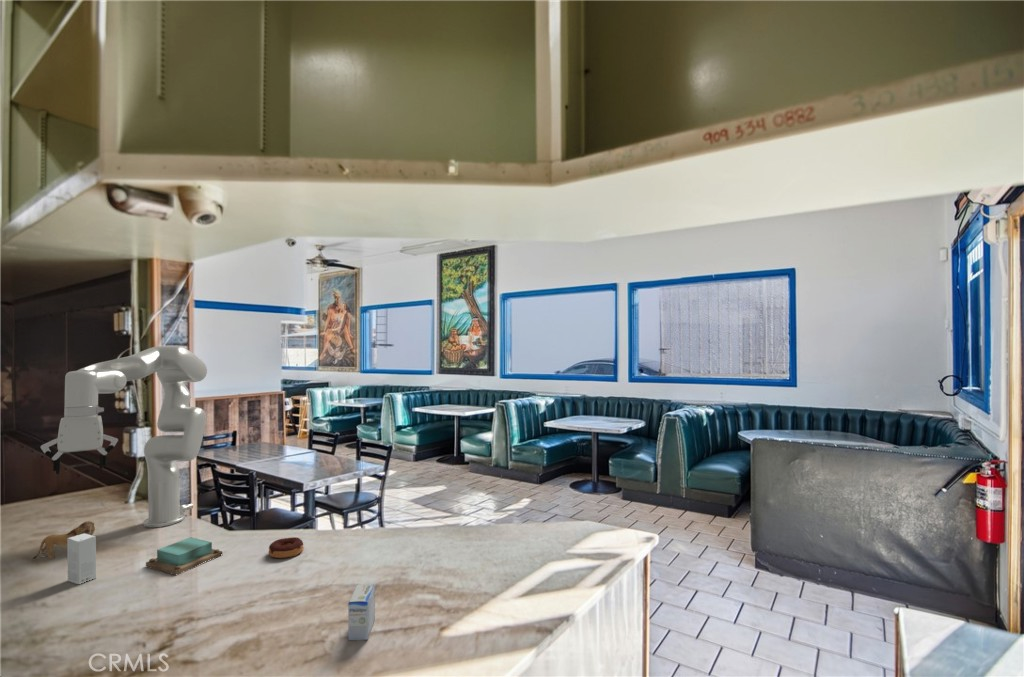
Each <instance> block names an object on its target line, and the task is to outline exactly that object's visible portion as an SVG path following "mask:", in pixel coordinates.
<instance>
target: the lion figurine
mask: <svg viewBox="0 0 1024 677" xmlns="http://www.w3.org/2000/svg"><path fill="white" fill-rule="evenodd" d="M95 528H96V527H95V522H94V521H89V520H87V521H84V522H82V523H81V524H79V526H76V527H75V528H73V529H72V530H71V531H69V532H68V533H66V534H50V535H47V536H46V537H44V539H42V540H41V542H40V546H39V548H38V552H37V553H36V555H35V556H34V557H33V558H32V560H36V559H37V558H38V557H39V556H40V557H42V558H45V557H47V556H48V558H49V559H50V560H51V559H52V560H53V559H55V558H56V556H55V555H52V551H53V549H54V546H55V545H56V546H59V547H67V539H68V538H70V537H74V536H77V535H80V534H84V533H85V534H89V535H92V536H93V534H94V533H95V530H96V529H95ZM44 545H45V546H44ZM43 546H44V547H43ZM45 552H46V553H45Z"/></svg>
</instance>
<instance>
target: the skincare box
mask: <svg viewBox="0 0 1024 677" xmlns="http://www.w3.org/2000/svg"><path fill="white" fill-rule="evenodd" d="M96 537H97V536H96V535H93V534H92V535H89V534H85V533H84V534H80V535H77V536H74V537H70V538H68V539H67V546H66V547H67V552H66V553H67V581H68V582H70V581H71V583H73V582H74V583H73V584H76V585H78V584H80V585H82V584H81V583H83V584H85V583H87V582H86V581H88V582H90V581H92V579H93V580H96V579H97V541H96ZM95 578H96V579H95ZM89 580H90V581H89ZM84 582H85V583H84Z"/></svg>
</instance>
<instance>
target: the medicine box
mask: <svg viewBox="0 0 1024 677" xmlns="http://www.w3.org/2000/svg"><path fill="white" fill-rule="evenodd" d="M347 605H348V609H347V610H348V615H347V616H348V620H347V622H348V624H347V625H348V626H347V627H348V636H347V637H348V641H365V640H369V638H370V634H371V633H372V632H371V631H372V628H373V625H374V622H375V618H376V585H375V584H369V583H368V584H356V586H355V588H354V590H353V592H352V595H351V596H350V598H349V602H348V604H347Z"/></svg>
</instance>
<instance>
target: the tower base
mask: <svg viewBox="0 0 1024 677" xmlns="http://www.w3.org/2000/svg"><path fill="white" fill-rule="evenodd" d="M221 554H222V555H223V551H222V550H220V549H214V548H213V542H212V541H207V540H204V539H199V538H196V537H191V536H190V537H188V538H183V539H182V540H180V541H177V542H174V543H172V544H169V545H166V546H164V547H161V548H158V549H156V557H157V558H150V559H149V560H148V561H146V562H145V567H146V566H147V567H146V568H149V567H151V568H150V569H153V568H154V570H156V569H157V570H156V571H160V570H161V571H160V572H163V571H164V572H163V573H166V572H167V573H166V574H170V573H172V574H171V575H173V574H175V575H174V576H177V575H176V574H178V573H180V574H182V573H181V572H183V571H185V572H187V571H189V570H188V569H190V570H192V569H194V568H196V567H198V566H197V565H199V564H201V563H203V562H205V561H208V560H210V559H213V558H215V557H217V556H219V555H221ZM217 558H218V557H217ZM215 559H216V558H215ZM213 560H214V559H213ZM210 561H211V560H210ZM208 562H209V561H208ZM203 564H204V563H203ZM201 565H202V564H201ZM195 566H196V567H195ZM199 566H200V565H199ZM193 567H194V568H193ZM191 568H192V569H191ZM186 570H187V571H186ZM183 573H184V572H183ZM178 575H179V574H178Z"/></svg>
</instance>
